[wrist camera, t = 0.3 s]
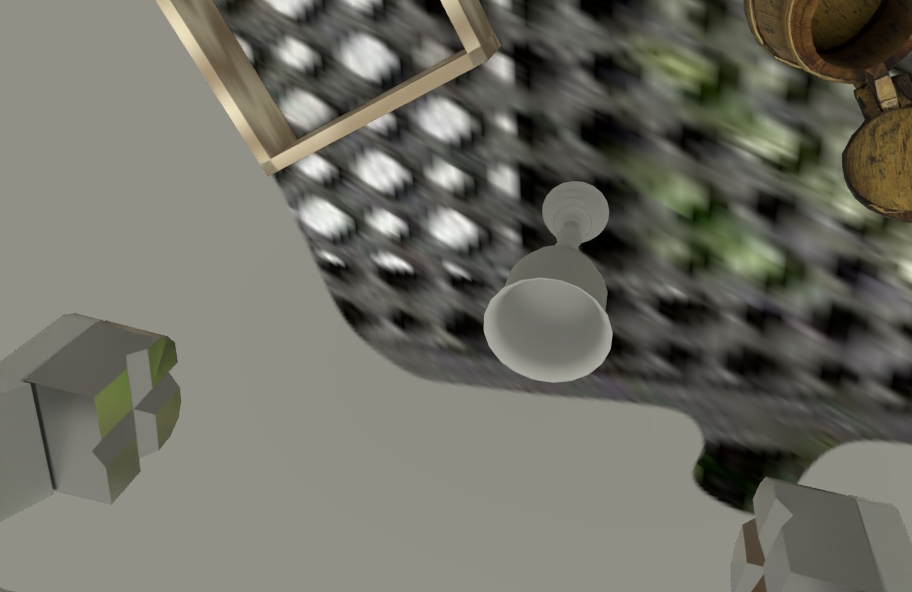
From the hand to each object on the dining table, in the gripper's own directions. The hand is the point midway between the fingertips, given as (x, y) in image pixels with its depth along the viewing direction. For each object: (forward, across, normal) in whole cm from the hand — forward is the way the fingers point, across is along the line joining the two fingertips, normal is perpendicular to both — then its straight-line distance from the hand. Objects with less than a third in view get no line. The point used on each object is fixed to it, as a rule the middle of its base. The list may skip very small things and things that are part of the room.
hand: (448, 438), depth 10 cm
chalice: (+47, 0, +16) cm, 50 cm away
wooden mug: (+47, -14, 0) cm, 49 cm away
